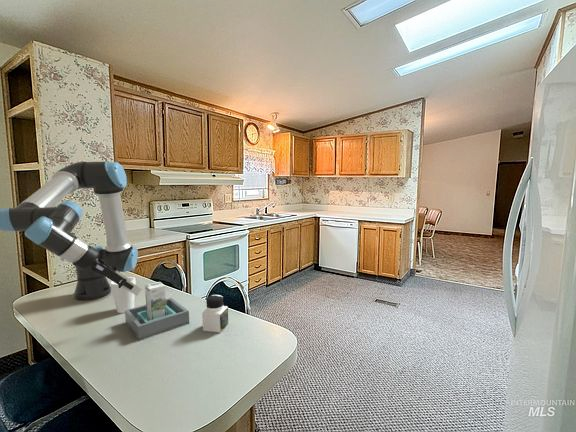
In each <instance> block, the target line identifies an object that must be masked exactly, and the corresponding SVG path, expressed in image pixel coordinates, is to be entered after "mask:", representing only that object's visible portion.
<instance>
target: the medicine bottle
mask: <svg viewBox="0 0 576 432" xmlns="http://www.w3.org/2000/svg"><path fill="white" fill-rule="evenodd" d="M205 301H206V309H205V310H204V311H203V312H202V313H201V314H202V315H201V318H202V330H203V332H211V333H220V334H221V333H222V332H223V331H224V329H225V328H226V327H228V325H229V307H228V306H227V305H224V296H222V295H220V294H212V295H209V296H208V297H206V299H205Z"/></svg>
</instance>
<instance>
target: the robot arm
mask: <svg viewBox="0 0 576 432" xmlns="http://www.w3.org/2000/svg"><path fill="white" fill-rule="evenodd" d="M127 180H128V179H127V174H126V172H125V169H124V167H123V166H122V165H121V164H120V163H119V162H116V161H107V160H106V161H78V162H74V163H72V164H69V165H66V166H64V167H62V168H61V169H59V170H58V171H56V172H54V173H53V175H52V176H51V179H50V180H49V181H47V182H46V183H45V184H44V185H42V186H41V187H40V188H39V189H38V190H36V191H35V192H33V193H32V194H31V195H30V196H28V197H27V198H26V199H24V200H23V201H22V202H21V203H19V204H18V205H17V206H16V207H7V208H2V209H1V208H0V231H3V232H16V233H17V232H24V236H25V238H28V239H29V240H30V241H32V242H33V243H35V244H36V245H38V246H40V247H42V248H43V249H45V250H47V251H48V252H50V253H53V254H54V255H55V256H58V257H59V259H60V261H62V262H63V261H64V260H65V261H66V262H68V263H71V264H72V265H73V266H74V267H75V270H76V278H77V282H76V286H75V289H74V294H73V295H74V299H75V300H78V301H89V300H95V299H100V298H102V297H105V296H107V295H109V294H110V293H111V292H112V289H111V285H110V282H109V280H110V281H113V282H115V283H116V284H118V285H119V286H118V288H121V287H123V288H125V289H126V290H128V291H130V292H131V293H133V294H135V297H137V296H138V295H139V294H140V293H141V292H142V291H143V288H141V287H140V286H138V285H137V284H136V285H135V284H134V283H132V282H130V281H131V279H130V278H128V277H129V276H126V275H125V274H123V273H126V272H132V271H134V270H135V269H136V267H137V263H138V259H139V258H138V257H139V250H138V248H137V247H135V246H133V243H132V242H131V241H129V239H128V234H127V227H126V222H125V214H124V209H123V203H122V202H123V201H122V195H121V194H122V193H123V192H124V188H126V187H127V184H128V181H127ZM80 189H93V193H94V195H96V196H97V197H98V198H99V205H100V210H101V215H102V221H103V225H104V230H105V235H106V242H107V244H106V246H103V245H95V246H91V245H89V244H88V242H86V241H84V240H83V239H81V238H80V237H78V236H76V235H75V234H73V233H72V232H73V230H74V228H75V227H76V226H77V224H79V222H80V219H81V217H82V216H83V209H82V207H81V206H80V205H79V204H78V203H76V202H74V201H70V200H69V201H67V200H66V201H63V202H61V201H62V200H63V199H65V197H66V196H67V195H68V194H70V193H75V191H77V190H80ZM58 203H59V204H58ZM108 279H109V280H108ZM119 282H120V283H119Z"/></svg>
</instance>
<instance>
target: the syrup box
mask: <svg viewBox="0 0 576 432" xmlns="http://www.w3.org/2000/svg"><path fill="white" fill-rule="evenodd" d="M144 291H145V292H144V293H145V294H144V295H145V305H146V311H147V320H148V321H150V320H153V319H157V318H160V317H163V316H167V313H166V299H167V297H166V295H167V294H166V285H165V284H163V283H162V282H161V281H156V282H153V283H149V284H145V285H144Z"/></svg>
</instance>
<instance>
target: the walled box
mask: <svg viewBox="0 0 576 432" xmlns="http://www.w3.org/2000/svg"><path fill="white" fill-rule="evenodd" d="M166 313H167V316H163V317H160V318H157V319H153V320H150V321H148V320H147V311H146V304H143V305H140V306H139V305H138V306H134V308H132V309H128V310H125V313H124V315H125V323H126V325H127V326H128V328H129V329H130V330H131V332H132V333H133V334H134V335H135V337H136V336H137V337H136V338H137V340H139V341H141V339H142V340H145V339H148V338H150V337H154V336H156V335H160V334H162V333H165V332H169V331H171V330H173V329H177V328H179V327H183V326H186V325H189V324H190V312H189V310H188V309H186V308H185V306H183V305H181V304H180V303H179V302H178V301H176V300H175V299H174V298H172V297H168V298H166ZM153 335H154V336H153ZM144 338H145V339H144Z"/></svg>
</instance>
